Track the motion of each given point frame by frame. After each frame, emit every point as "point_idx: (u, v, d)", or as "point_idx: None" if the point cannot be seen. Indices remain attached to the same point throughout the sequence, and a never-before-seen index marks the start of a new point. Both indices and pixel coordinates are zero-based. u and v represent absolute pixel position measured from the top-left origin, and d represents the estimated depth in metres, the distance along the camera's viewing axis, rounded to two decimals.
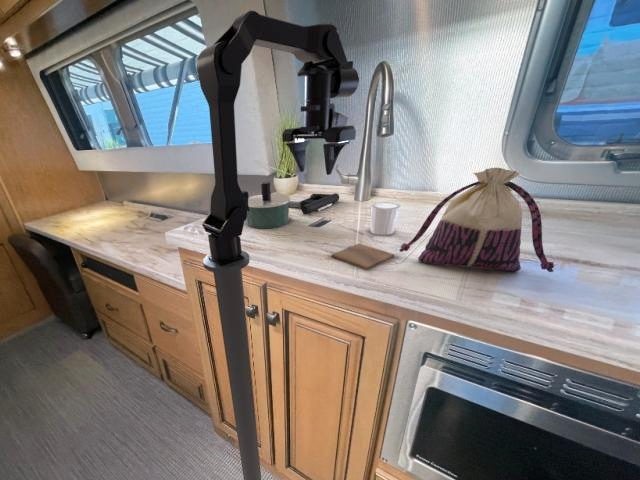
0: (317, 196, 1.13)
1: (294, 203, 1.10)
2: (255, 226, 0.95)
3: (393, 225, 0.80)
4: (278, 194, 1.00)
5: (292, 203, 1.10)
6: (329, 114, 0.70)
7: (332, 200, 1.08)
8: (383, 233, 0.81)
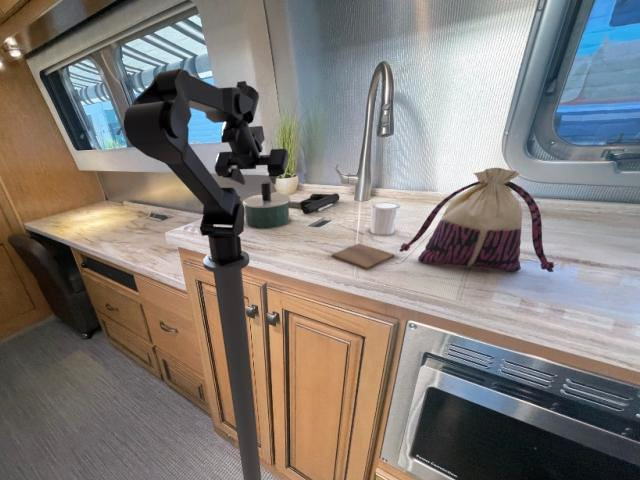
0: (317, 196, 1.13)
1: (294, 203, 1.09)
2: (255, 226, 0.95)
3: (393, 225, 0.80)
4: (278, 194, 1.00)
5: (292, 203, 1.10)
6: (255, 145, 0.74)
7: (332, 200, 1.08)
8: (383, 233, 0.81)
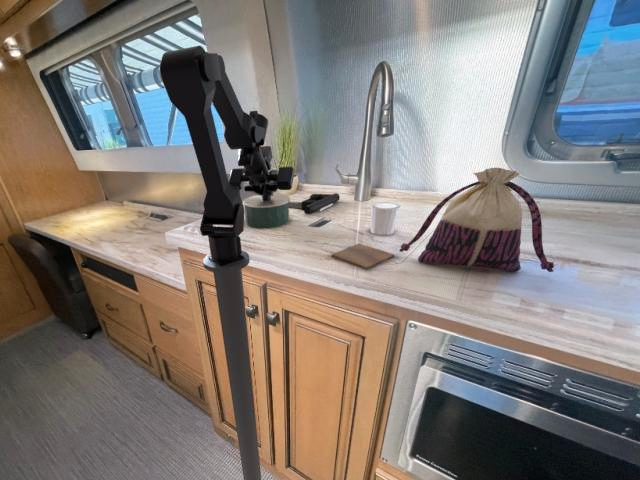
0: (317, 196, 1.12)
1: (295, 203, 1.09)
2: (255, 226, 0.95)
3: (393, 225, 0.80)
4: (278, 194, 1.00)
5: (293, 203, 1.10)
6: (266, 164, 0.84)
7: (333, 200, 1.08)
8: (383, 233, 0.81)
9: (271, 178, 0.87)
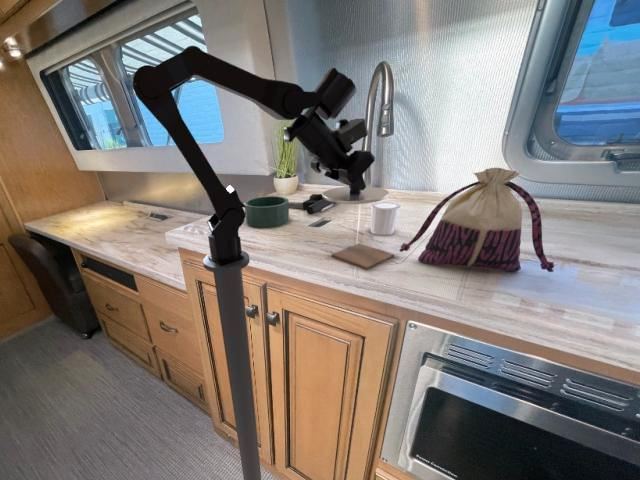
0: (317, 196, 1.12)
1: (296, 204, 1.08)
2: (255, 226, 0.95)
3: (393, 225, 0.80)
4: (385, 190, 0.71)
5: (294, 204, 1.09)
6: (337, 143, 0.63)
7: None
8: (383, 233, 0.81)
9: (343, 164, 0.64)
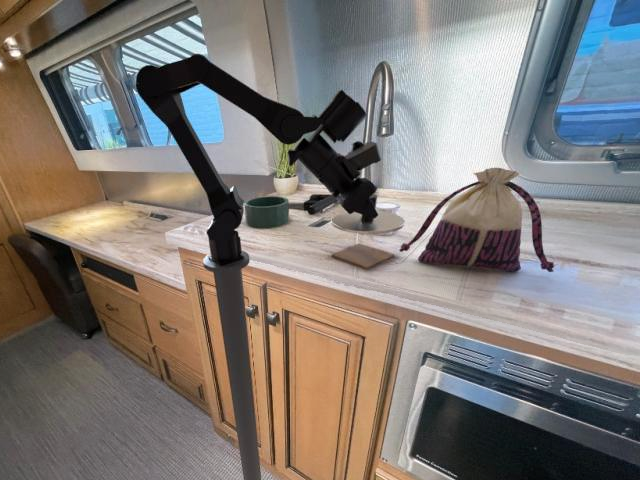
0: (318, 196, 1.12)
1: (297, 204, 1.08)
2: (255, 226, 0.95)
3: None
4: (402, 220, 0.64)
5: (294, 204, 1.09)
6: (343, 169, 0.59)
7: (334, 200, 1.08)
8: (383, 233, 0.81)
9: None
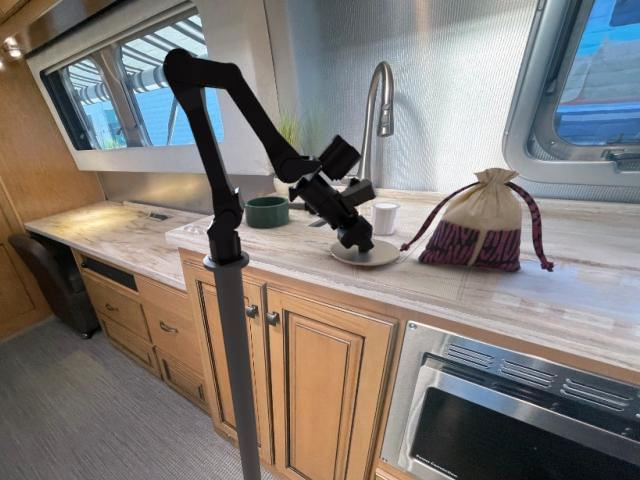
0: None
1: (297, 204, 1.08)
2: (255, 226, 0.95)
3: (393, 225, 0.80)
4: (397, 251, 0.67)
5: (295, 204, 1.08)
6: (340, 205, 0.63)
7: None
8: (383, 233, 0.81)
9: None
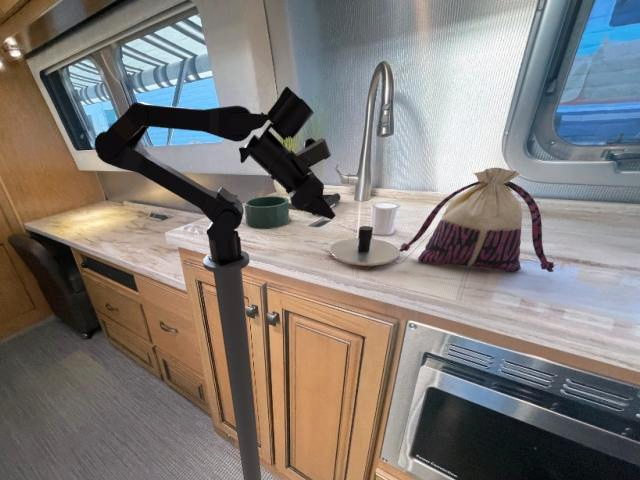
0: None
1: None
2: (255, 226, 0.95)
3: (393, 225, 0.80)
4: (397, 251, 0.67)
5: None
6: (293, 165, 0.59)
7: (335, 200, 1.07)
8: (383, 233, 0.81)
9: None
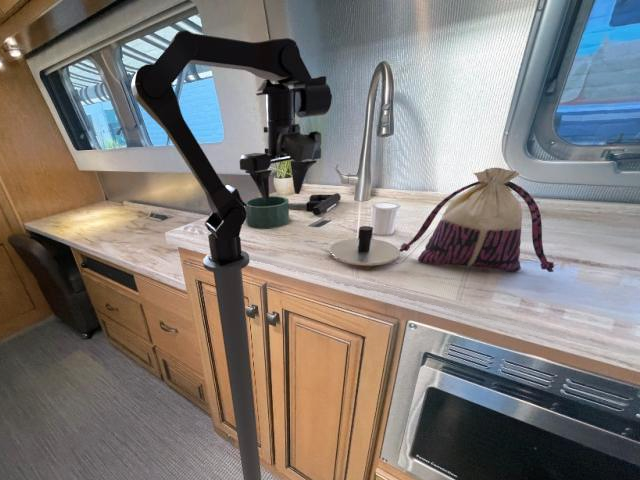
0: (318, 197, 1.12)
1: (299, 205, 1.07)
2: (255, 226, 0.95)
3: (393, 225, 0.80)
4: (397, 251, 0.67)
5: (297, 205, 1.07)
6: (277, 138, 0.63)
7: (336, 200, 1.07)
8: (383, 233, 0.81)
9: None
